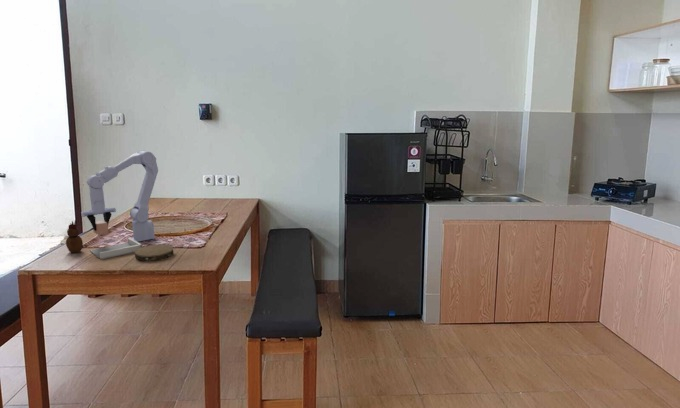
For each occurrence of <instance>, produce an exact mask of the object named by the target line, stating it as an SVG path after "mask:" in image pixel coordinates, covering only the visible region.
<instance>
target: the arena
mask: <svg viewBox="0 0 680 408" xmlns="http://www.w3.org/2000/svg"><path fill="white" fill-rule="evenodd" d="M131 238H132V237H127V243H122V244H115V245H110V246H105V247H101V248H95V249H92V250H89V252H90V253H91V254H92V255H94V256H96V258H99V259H100V260H105V259H110V258H111V259H112V258H115V257H116V258H117V257H120V256H124V255H129V254H135V251H136V250H137V249H140V248H142V247H143V244H142V243H140V242H137V241H135V240H133V239H131Z"/></svg>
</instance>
